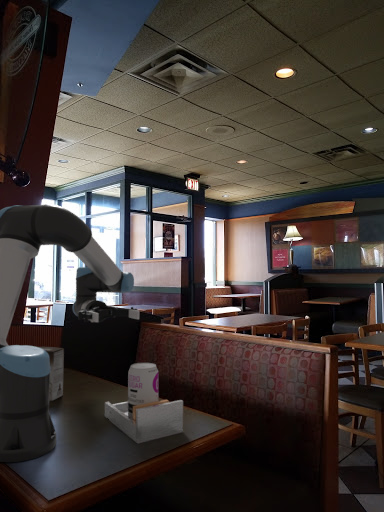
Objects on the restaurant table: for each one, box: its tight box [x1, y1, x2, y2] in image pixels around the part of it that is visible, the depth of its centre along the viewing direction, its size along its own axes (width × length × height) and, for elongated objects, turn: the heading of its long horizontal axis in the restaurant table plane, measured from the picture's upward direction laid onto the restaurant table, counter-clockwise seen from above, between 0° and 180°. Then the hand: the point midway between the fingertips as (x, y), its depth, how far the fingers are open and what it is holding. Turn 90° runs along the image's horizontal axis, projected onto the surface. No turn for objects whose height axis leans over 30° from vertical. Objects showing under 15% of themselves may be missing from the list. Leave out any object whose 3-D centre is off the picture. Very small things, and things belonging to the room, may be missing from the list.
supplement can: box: [127, 362, 159, 420], centre depth 109 cm, size 8×8×15 cm
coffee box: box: [38, 346, 65, 402], centre depth 133 cm, size 9×6×16 cm
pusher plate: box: [133, 399, 170, 422], centre depth 105 cm, size 1×10×6 cm, turn 123°
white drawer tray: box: [104, 399, 184, 444], centre depth 110 cm, size 22×13×8 cm, turn 33°
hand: (118, 316), depth 124 cm, fingers open, 13 cm apart
